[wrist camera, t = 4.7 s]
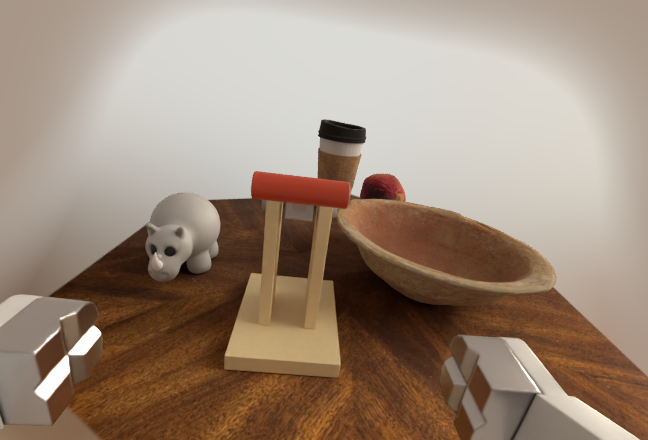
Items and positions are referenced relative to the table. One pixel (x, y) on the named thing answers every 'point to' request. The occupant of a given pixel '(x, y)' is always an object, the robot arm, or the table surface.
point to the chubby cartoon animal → (182, 236)
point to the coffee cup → (339, 151)
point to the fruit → (382, 188)
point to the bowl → (442, 254)
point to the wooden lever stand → (287, 310)
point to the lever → (300, 193)
